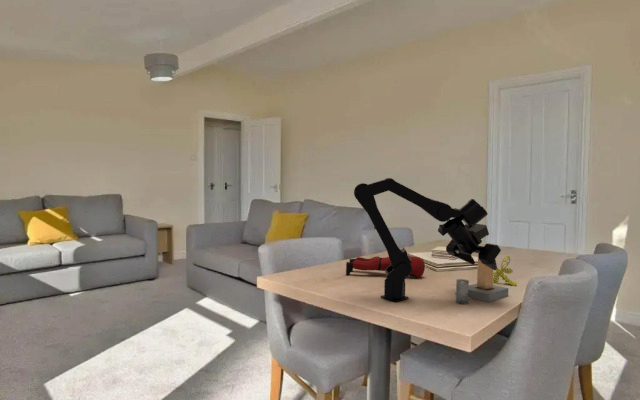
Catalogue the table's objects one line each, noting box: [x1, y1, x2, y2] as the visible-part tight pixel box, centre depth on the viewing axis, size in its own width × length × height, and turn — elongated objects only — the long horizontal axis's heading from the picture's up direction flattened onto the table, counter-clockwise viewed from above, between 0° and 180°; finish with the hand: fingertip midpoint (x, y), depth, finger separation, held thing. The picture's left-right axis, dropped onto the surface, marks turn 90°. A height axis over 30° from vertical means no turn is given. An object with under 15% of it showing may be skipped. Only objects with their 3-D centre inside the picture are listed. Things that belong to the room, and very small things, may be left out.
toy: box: [345, 256, 426, 279], centre depth 170 cm, size 28×8×30 cm
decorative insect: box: [493, 255, 518, 287], centre depth 158 cm, size 13×3×10 cm
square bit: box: [476, 258, 494, 291], centre depth 142 cm, size 3×3×12 cm
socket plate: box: [468, 282, 509, 303], centre depth 142 cm, size 12×10×2 cm
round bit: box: [455, 278, 470, 306], centre depth 134 cm, size 4×4×7 cm
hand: (484, 266), depth 142 cm, fingers open, 9 cm apart
